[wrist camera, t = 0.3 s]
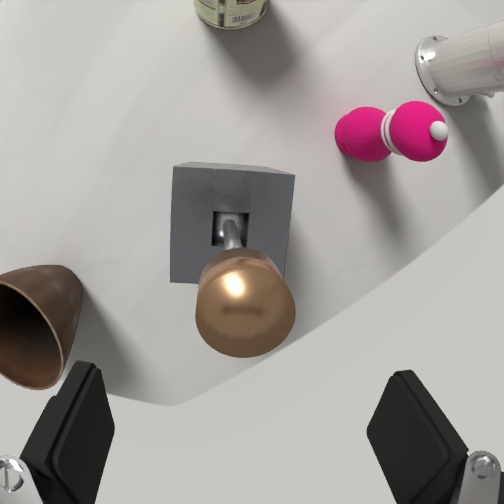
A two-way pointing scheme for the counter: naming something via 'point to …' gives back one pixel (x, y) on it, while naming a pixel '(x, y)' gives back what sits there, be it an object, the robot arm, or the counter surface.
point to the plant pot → (37, 323)
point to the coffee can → (230, 12)
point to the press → (226, 200)
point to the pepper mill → (393, 132)
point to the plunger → (241, 295)
